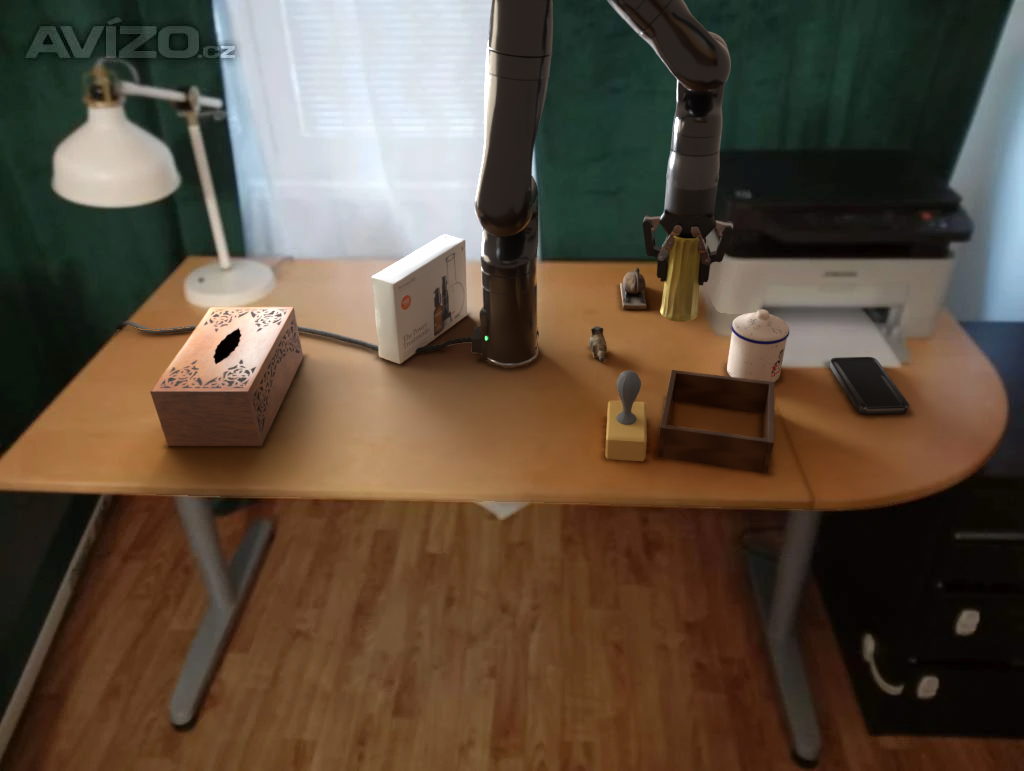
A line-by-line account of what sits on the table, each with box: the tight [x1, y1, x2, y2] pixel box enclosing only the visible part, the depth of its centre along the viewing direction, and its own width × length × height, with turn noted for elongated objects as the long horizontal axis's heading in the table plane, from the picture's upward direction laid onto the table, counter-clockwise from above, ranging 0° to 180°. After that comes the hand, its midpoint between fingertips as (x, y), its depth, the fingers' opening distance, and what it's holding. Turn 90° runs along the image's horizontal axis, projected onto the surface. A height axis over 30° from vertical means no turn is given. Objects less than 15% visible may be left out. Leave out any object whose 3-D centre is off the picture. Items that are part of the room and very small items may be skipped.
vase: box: [659, 236, 702, 323], centre depth 130 cm, size 6×6×14 cm
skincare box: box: [370, 233, 468, 365], centre depth 146 cm, size 21×6×16 cm, turn 148°
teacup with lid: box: [726, 308, 790, 383], centre depth 135 cm, size 12×9×12 cm
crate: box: [656, 369, 776, 474], centre depth 122 cm, size 16×16×6 cm
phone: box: [829, 356, 910, 416], centre depth 132 cm, size 8×1×15 cm
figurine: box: [619, 267, 647, 310], centre depth 157 cm, size 14×4×9 cm, turn 177°
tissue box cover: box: [149, 306, 304, 447], centre depth 132 cm, size 26×14×10 cm, turn 178°
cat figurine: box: [589, 325, 608, 363], centre depth 142 cm, size 3×8×4 cm, turn 4°
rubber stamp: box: [604, 369, 648, 462], centre depth 120 cm, size 10×6×12 cm, turn 173°
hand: (682, 281), depth 131 cm, fingers closed on vase, 5 cm apart
